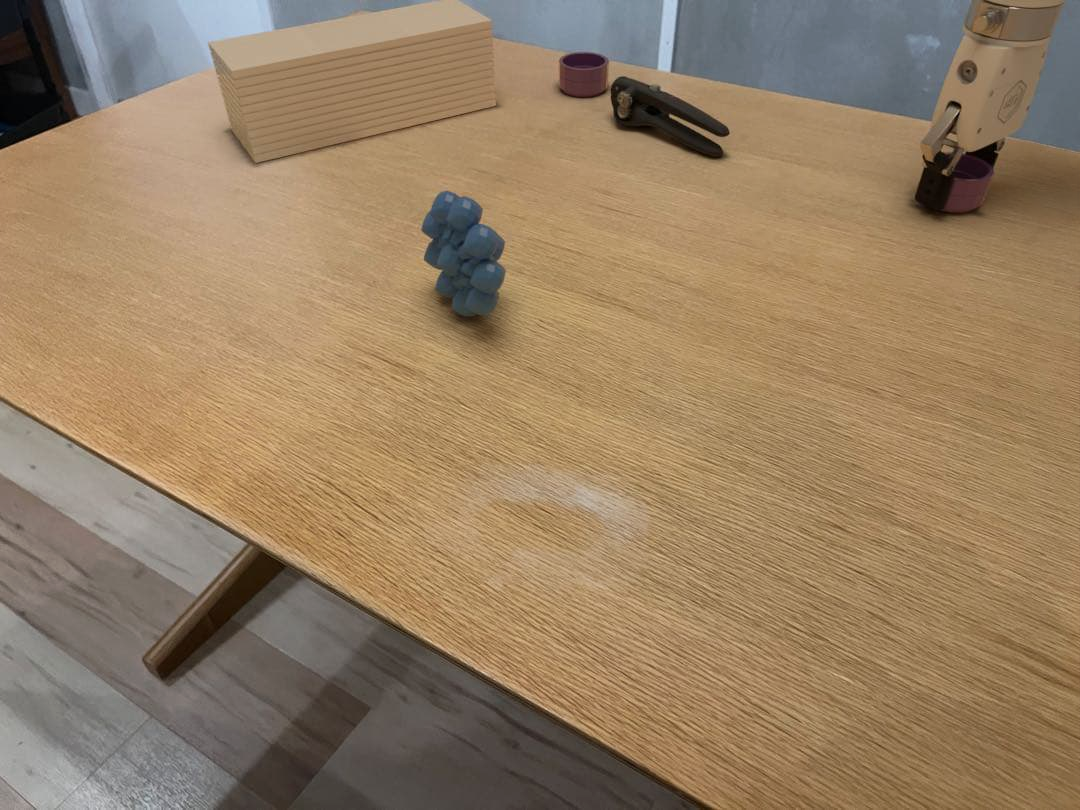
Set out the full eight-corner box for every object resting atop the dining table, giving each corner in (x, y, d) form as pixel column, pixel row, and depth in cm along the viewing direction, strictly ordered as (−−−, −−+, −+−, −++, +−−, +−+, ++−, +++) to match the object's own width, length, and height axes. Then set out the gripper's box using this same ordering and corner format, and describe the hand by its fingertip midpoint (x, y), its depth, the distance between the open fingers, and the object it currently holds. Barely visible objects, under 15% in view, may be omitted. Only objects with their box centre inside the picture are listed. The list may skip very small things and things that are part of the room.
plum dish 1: (603, 78, 115) (604, 50, 112) (611, 97, 110) (612, 68, 108) (556, 81, 114) (556, 53, 112) (562, 99, 110) (562, 70, 107)
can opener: (595, 121, 104) (597, 76, 101) (634, 106, 108) (636, 62, 104) (702, 168, 94) (708, 121, 91) (741, 150, 98) (748, 104, 94)
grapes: (543, 329, 72) (542, 206, 64) (476, 356, 69) (466, 231, 61) (475, 269, 79) (467, 151, 71) (413, 292, 76) (396, 172, 68)
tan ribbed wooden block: (255, 163, 96) (231, 70, 89) (231, 130, 103) (207, 42, 96) (496, 106, 108) (492, 19, 101) (460, 80, 115) (454, -3, 108)
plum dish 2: (962, 182, 91) (974, 150, 88) (993, 212, 86) (1006, 178, 83) (905, 187, 90) (915, 154, 88) (932, 216, 85) (944, 183, 83)
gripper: (994, 49, 70) (931, 234, 82) (1100, 8, 77) (1028, 183, 89) (918, 27, 74) (868, 205, 86) (1025, -11, 82) (966, 159, 94)
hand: (950, 192), depth 87 cm, fingers closed on plum dish 2, 6 cm apart
